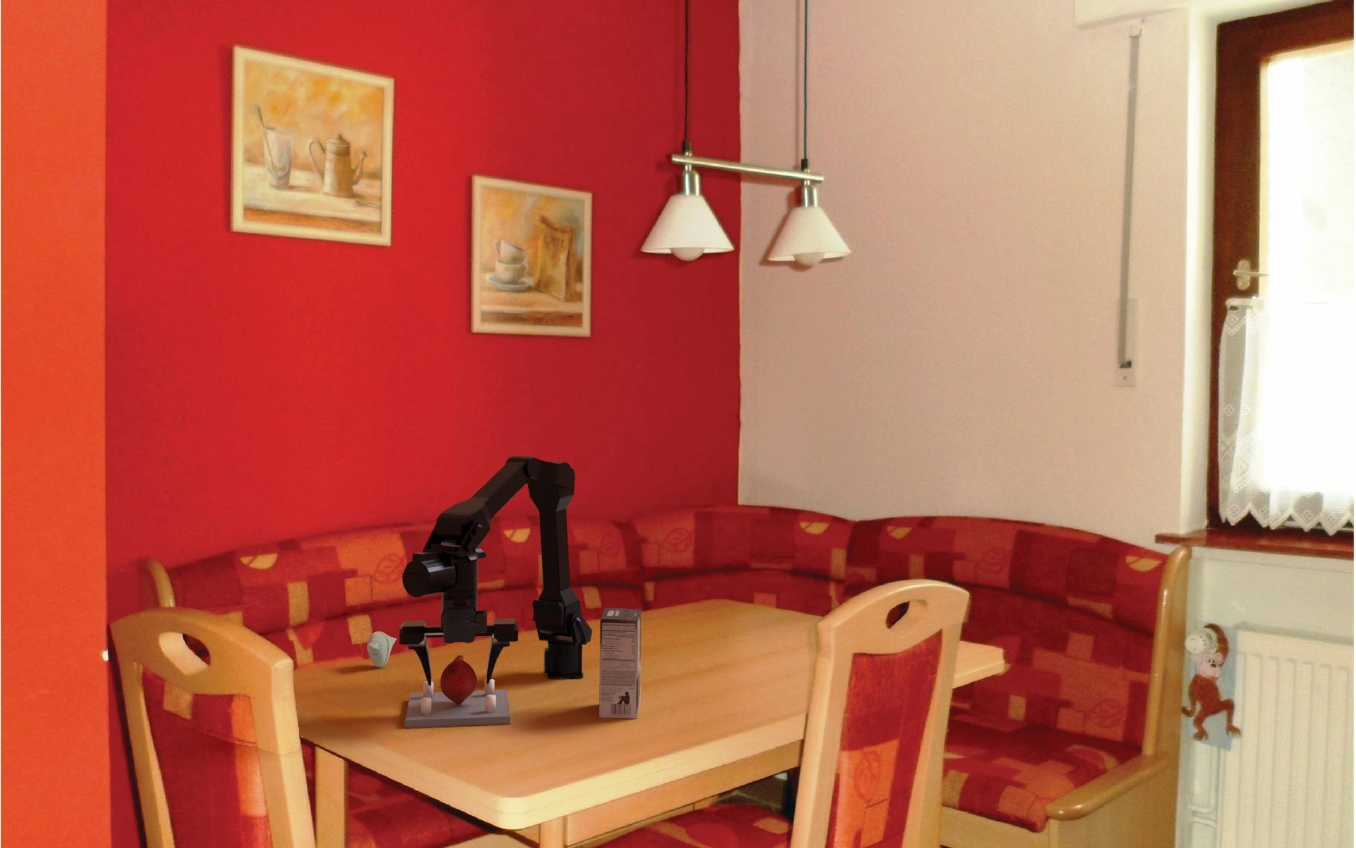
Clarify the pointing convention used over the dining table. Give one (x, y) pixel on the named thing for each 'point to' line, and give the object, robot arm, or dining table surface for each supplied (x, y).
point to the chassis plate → (457, 708)
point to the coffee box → (620, 663)
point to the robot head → (379, 648)
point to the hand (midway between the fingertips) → (459, 684)
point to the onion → (458, 680)
